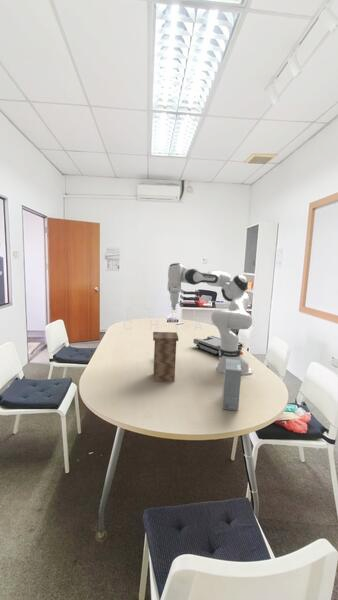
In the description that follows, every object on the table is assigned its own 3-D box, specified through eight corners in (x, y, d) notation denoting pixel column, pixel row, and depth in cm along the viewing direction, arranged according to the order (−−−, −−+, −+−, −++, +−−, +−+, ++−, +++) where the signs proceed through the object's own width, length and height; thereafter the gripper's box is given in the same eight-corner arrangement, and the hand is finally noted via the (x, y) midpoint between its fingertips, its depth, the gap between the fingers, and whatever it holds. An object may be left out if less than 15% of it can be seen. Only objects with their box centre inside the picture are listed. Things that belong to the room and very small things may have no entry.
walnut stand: (174, 373, 173) (176, 332, 169) (176, 382, 160) (178, 338, 156) (151, 373, 172) (153, 331, 168) (151, 382, 159) (153, 337, 156)
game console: (211, 343, 239) (211, 334, 238) (241, 354, 214) (242, 344, 213) (193, 347, 227) (193, 337, 226) (223, 359, 202) (223, 348, 200)
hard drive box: (238, 411, 132) (241, 371, 129) (221, 409, 133) (224, 369, 130) (237, 396, 147) (240, 359, 144) (222, 394, 148) (224, 358, 145)
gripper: (168, 286, 194) (167, 305, 196) (170, 289, 174) (169, 311, 176) (177, 286, 195) (176, 306, 197) (180, 289, 175) (179, 311, 177)
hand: (173, 308), depth 186 cm, fingers open, 8 cm apart
